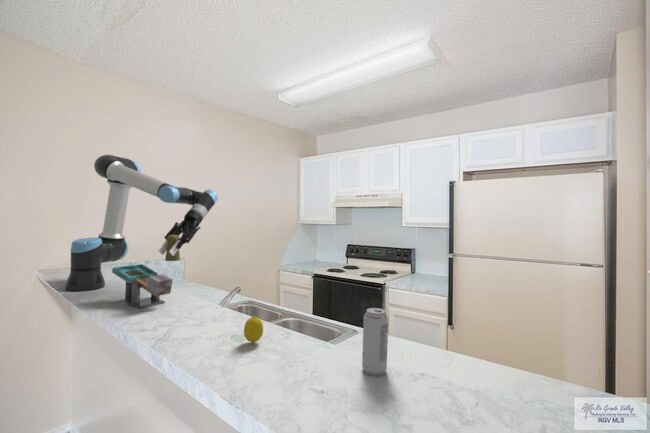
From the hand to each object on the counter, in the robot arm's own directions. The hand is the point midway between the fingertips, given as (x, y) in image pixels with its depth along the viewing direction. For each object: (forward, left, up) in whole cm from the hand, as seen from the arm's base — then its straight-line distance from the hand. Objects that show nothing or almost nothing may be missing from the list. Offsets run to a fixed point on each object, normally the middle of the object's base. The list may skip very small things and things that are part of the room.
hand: (166, 253), depth 136 cm
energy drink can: (+95, +27, -20) cm, 101 cm away
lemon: (+63, +10, -20) cm, 67 cm away
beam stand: (0, -9, -20) cm, 22 cm away
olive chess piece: (-2, +3, -4) cm, 5 cm away
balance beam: (+2, -8, -12) cm, 15 cm away
